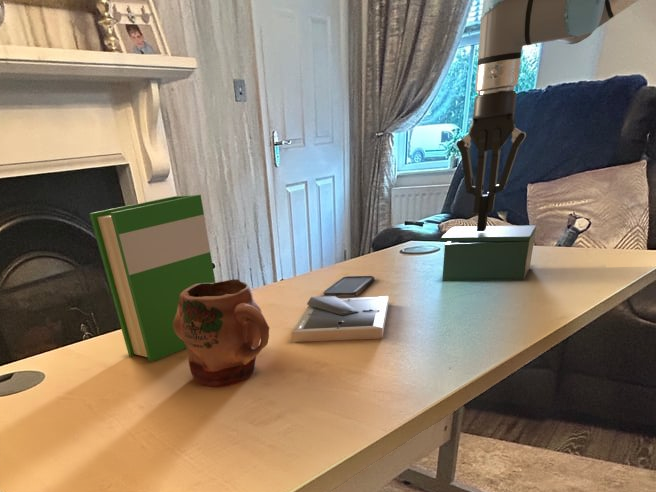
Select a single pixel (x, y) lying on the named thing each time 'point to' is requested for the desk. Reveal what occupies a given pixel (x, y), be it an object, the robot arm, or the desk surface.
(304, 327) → the picture frame
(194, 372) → the terracotta mug
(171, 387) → the desk surface
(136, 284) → the hardback book
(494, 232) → the lid
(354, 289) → the phone
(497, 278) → the box
